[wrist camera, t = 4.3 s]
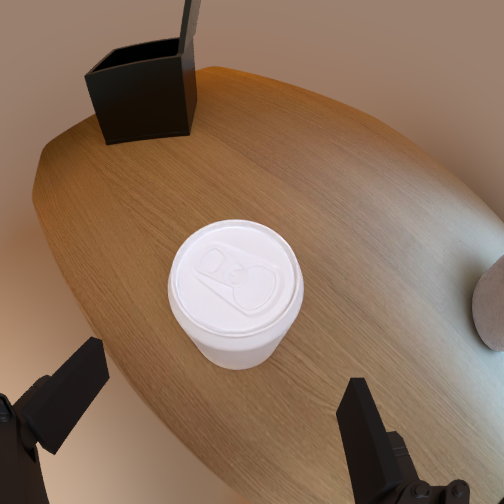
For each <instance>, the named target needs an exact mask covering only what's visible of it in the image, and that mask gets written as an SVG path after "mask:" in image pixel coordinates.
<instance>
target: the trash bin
mask: <svg viewBox="0 0 504 504" xmlns="http://www.w3.org/2000/svg"><path fill="white" fill-rule="evenodd" d="M179 39H180V37H178V38H169V39H163V40H156V41H150V42H145V43H139V44H135V45H130V46H125V47H121V48H117V49H114V50H112V51H111V52H110V53H109V54H107V55H106V56H105V57H104V58H103V59H102V60H101V61H100V62H98V64H96V65H95V66H94V67H93V68H92V69H91V70H90V71H89V72H88V73H87V74H86V75H85V80H86V84H87V87H88V91H89V94H90V97H91V100H92V103H93V107H94V110H95V113H96V116H97V119H98V122H99V125H100V127H101V130H102V133H103V136H104V139H105V141H106V144H107V145H111V144H117V143H124V142H130V141H138V140H146V139H155V138H164V137H175V136H188V135H190V132H191V127H192V122H193V117H194V113H195V108H196V104H197V89H196V76H195V63H194V50H193V49H194V48H193V38H192V40H191V41H190V43H189V45H188V47H187V48H186V50H185V52H184V54H181V53H178V48H179Z"/></svg>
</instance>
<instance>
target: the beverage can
mask: <svg viewBox="0 0 504 504" xmlns="http://www.w3.org/2000/svg"><path fill="white" fill-rule="evenodd" d="M303 292H304V285H303V277H302V273H301V269H300V266H299V264H298V261H297V259H296V256H295V254H294V252H293V250H292V249H291V247H290V246H289V245H288V243H287V242H286V241H285V240H284V239H283V238H282V237H281V236H280V235H279V234H277V233H276V232H275V231H273V230H271V229H270V228H268V227H266V226H264V225H261V224H259V223H255V222H252V221H247V220H224V221H219V222H215V223H212V224H210V225H207V226H205V227H203V228H201V229H199V230H198V231H196V232H195V233H194V234H192V235H191V236H190V237H189V238H188V239H187V240H186V241H185V242H184V243H183V244H182V246H181V247H180V249H179V250H178V252H177V254H176V256H175V258H174V261H173V264H172V267H171V270H170V274H169V279H168V298H169V303H170V306H171V309H172V312H173V314H174V316H175V318H176V320H177V321H178V323H179V324H180V325H181V327H182V328H183V329H184V331H185V332H186V333H187V335H188V336H189V337H190V339H191V340H192V341H193V342H194V344H195V345H196V346H197V348H198V349H199V350H200V351H201V353H202V354H203V355H204V356H205V357H206V358H207V359H208V360H210V361H211V362H212V363H214V364H216V365H218V366H220V367H223V368H226V369H232V370H243V369H248V368H252V367H254V366H257V365H259V364H261V363H262V362H264V361H265V360H266V359H267V358H268V357H269V356H270V355H271V354H272V353H273V352H274V350H275V349H276V347H277V346H278V344H279V343H280V341H281V340H282V338H283V337H284V335H285V334H286V332H287V331H288V329H289V328H290V326H291V325H292V323H293V322H294V320H295V318H296V317H297V315H298V313H299V310H300V307H301V304H302V300H303Z"/></svg>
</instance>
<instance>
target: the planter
mask: <svg viewBox="0 0 504 504" xmlns="http://www.w3.org/2000/svg"><path fill="white" fill-rule="evenodd" d="M472 313H473V319H474V323H475V326H476V329H477V332H478V334H479V336H480V337H481V339H482V340H483V342H484V343H485V344H486V345H487V346H488V347H489V348H491V349H493V350H495V351H504V255H503V256H502V257H501V258H499V259H498V260H497V261H496V262H495V263H494V264H493V265H492V266H491V267H490V268H489V269H488V270H487V271H486V272H485V273H484V274H483V276H482V277H481V278H480V280H479V281H478V282H477V284H476V287H475V289H474V293H473V298H472Z"/></svg>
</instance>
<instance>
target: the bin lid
mask: <svg viewBox="0 0 504 504" xmlns="http://www.w3.org/2000/svg"><path fill="white" fill-rule="evenodd" d="M200 3H201V0H185V6H184V11H183V18H182V25H181V32H180V39H179V48H178V53H181V54H184V52H185V50H186V48H187V47H188V45H189V43H190V41H191V40H192V38H193V36H194V34H195V31H196V25H197V19H198V14H199V8H200Z"/></svg>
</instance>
